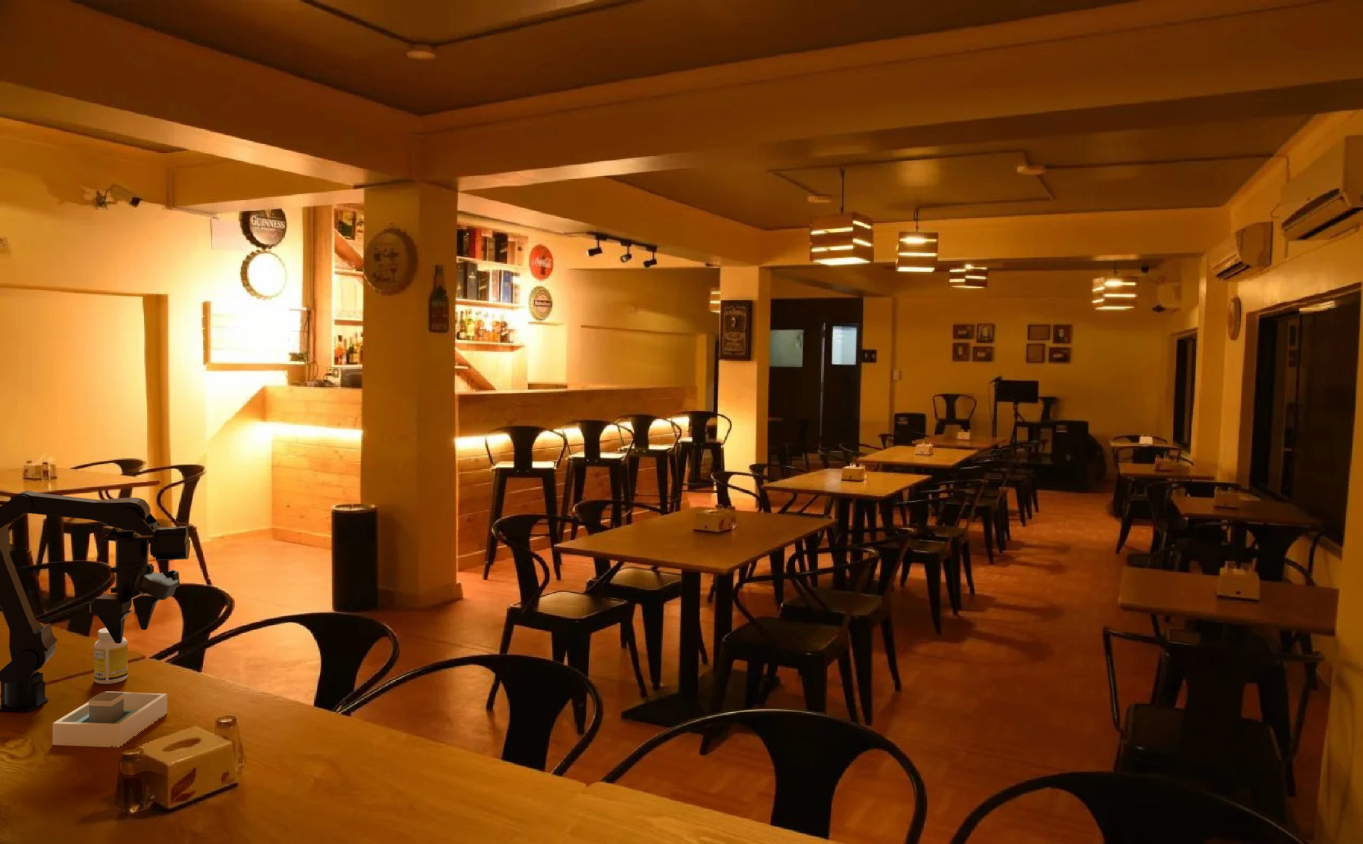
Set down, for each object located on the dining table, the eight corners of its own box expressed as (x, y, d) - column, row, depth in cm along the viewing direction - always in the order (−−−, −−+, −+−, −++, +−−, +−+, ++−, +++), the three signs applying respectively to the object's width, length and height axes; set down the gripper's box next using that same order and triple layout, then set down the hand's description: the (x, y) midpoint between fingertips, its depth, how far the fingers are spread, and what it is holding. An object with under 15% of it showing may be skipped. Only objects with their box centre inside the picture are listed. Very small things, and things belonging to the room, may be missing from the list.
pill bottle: (130, 674, 205) (131, 624, 204) (123, 683, 199) (123, 633, 198) (98, 675, 203) (98, 626, 202) (90, 685, 197) (90, 634, 196)
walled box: (52, 745, 168) (52, 723, 168) (105, 711, 184) (105, 691, 184) (119, 747, 168) (119, 725, 168) (167, 713, 184) (167, 693, 184)
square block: (88, 731, 172) (88, 699, 172) (102, 722, 176) (102, 691, 176) (110, 732, 172) (111, 700, 172) (124, 723, 176) (124, 692, 176)
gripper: (146, 573, 180) (146, 652, 181) (195, 552, 199) (194, 624, 200) (88, 570, 180) (88, 650, 181) (142, 550, 198) (142, 622, 199)
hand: (131, 636), depth 190 cm, fingers open, 9 cm apart
